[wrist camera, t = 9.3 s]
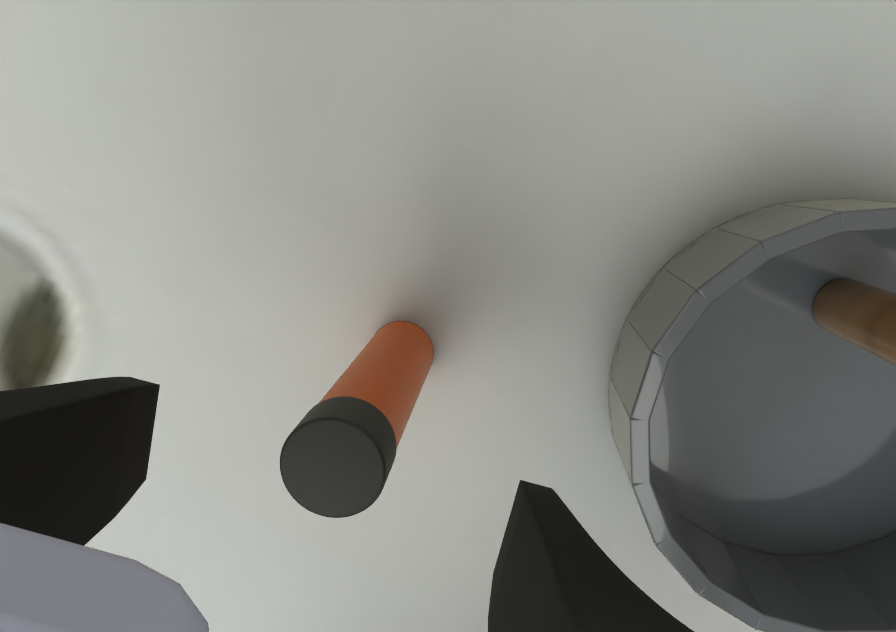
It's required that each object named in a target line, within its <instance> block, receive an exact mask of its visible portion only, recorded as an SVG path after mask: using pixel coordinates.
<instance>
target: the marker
mask: <svg viewBox="0 0 896 632" xmlns="http://www.w3.org/2000/svg"><path fill="white" fill-rule="evenodd" d="M432 360H433V346H432V343H431V340H430V338H429V337H428V335H427V334H426V333H425V332H424V331H423V330H422V329H421V328H420V327H418V326H417V325H415V324H412V323H409V322H404V321H398V322H392V323H389V324H387V325H385V326H384V327H382V328H381V329H380V330H379V331H378V332H377V333H376V334H375V335H374V337H373V338H372V339H371V340H370V342H369V343H368V344H367V345H366V346H365V348H364V349H363V350H362V351H361V352H360V354H359V355H358V356H357V357H356V359H355V360H354V361H353V362H352V363H351V365H350V366H349V367H348V368H347V370H346V371H345V372H344V373H343V374H342V376H341V377H340V378H339V379H338V380H337V382H336V383H335V384H334V385H333V387H332V388H331V389H330V390H329V391H328V393H327V394H326V395H325V396H324V398H323V399H322V400H321V401H320V402H319V403H318V404H317V405H315V406H314V407H313V408H312V409H311V410H310V411H309V412H308V413H307V414H306V416H305V417H304V418H303V419H302V420H301V422H300V423H299V424H298V425H297V426H296V428H295V429H294V430H293V431H292V432H291V434H290V435H289V436H288V438H287V439H286V441H285V443H284V445H283V447H282V451H281V456H280V470H281V476H282V479H283V482H284V484H285V486H286V488H287V490H288V492H289V493H290V494H291V496H292V497H293V498H294V499H295V500H296V501H297V502H298V503H299V504H300V505H301V506H303V507H304V508H306V509H307V510H309V511H311V512H313V513H315V514H318V515H321V516H326V517H333V518H341V517H348V516H352V515H355V514H357V513H360V512H362V511H364V510H365V509H367V508H368V507H369V506H371V505H372V504H373V503H374V502H375V501H376V499H377V498H378V497H379V495H380V494H381V492H382V489H383V487H384V485H385V482H386V480H387V477H388V475H389V472H390V470H391V467H392V465H393V462H394V459H395V456H396V449H397V446H398V444H399V442H400V439H401V437H402V434H403V432H404V429H405V427H406V424H407V422H408V420H409V417H410V415H411V412H412V410H413V407H414V405H415V403H416V400H417V398H418V395H419V393H420V390H421V388H422V386H423V383H424V381H425V378H426V376H427V373H428V371H429V369H430V366H431V364H432Z"/></svg>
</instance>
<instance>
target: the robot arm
mask: <svg viewBox="0 0 896 632" xmlns="http://www.w3.org/2000/svg"><path fill="white" fill-rule="evenodd" d="M159 387H160V385H158V384H154V383H151V382H147V381H143V380H139V379H135V378H132V377H109V378H99V379H90V380H83V381H75V382H68V383H61V384H54V385H47V386H40V387H33V388H25V389H17V390H8V391H0V632H209V627H208V622H207V621H206V619H205V618H204V617H203V615H202V614H201V612H200V611H199V610H198V608H197V607H196V606H195V604H194V603H193V601H192V600H191V599H190V597H189V596H188V595H187V593H186V592H185V590H184V589H183V588H182V586H181V585H180V584H179V583H177V582H175V581H174V580H172V579H170V578H168V577H166V576H164V575H162V574H161V573H159V572H157V571H155V570H153V569H151V568H149V567H148V566H146V565H144V564H142V563H140V562H138V561H136V560H133V559H130V558H126V557H122V556H119V555H115V554H111V553H108V552H104V551H101V550H97V549H93V548H90V547H86V546H84V545H85V544H86V543H87V542H88V541H90V540H91V539H92V538H93V537H94V536H95V535H96V534H97V533H98V532H99V531H100V530H102V529H103V528H104V527H105V526H106V525H107V524H108V523H109V522H110V521H111V520H112V519H113V518H114V517H115V516H116V515H117V514H118V513H119V512H120V510H121V509H122V508H123V507H124V506H125V505H126V504H127V502H128V501H129V500H130V499H131V497H132V496H133V495H134V494H135V492H136V491H137V490H138V489H139V487H140V486H141V485H142V484H143V482H144V481H145V480H146V475H147V469H148V462H149V455H150V448H151V441H152V434H153V428H154V421H155V414H156V407H157V400H158V394H159ZM488 632H694V631H692V630H691V629H689V628H688V627H687V626H685V625H684V624H683V623H681V622H680V621H678V620H677V619H676V618H674V617H673V616H672V615H670V614H669V613H668V612H667V611H665V610H664V609H663V608H662V607H660V606H659V605H658V604H657V603H656V602H655V601H653V600H652V599H651V598H650V597H649V596H648V595H647V594H645V593H644V592H643V591H642V590H641V589H640V588H639V587H637V586H636V585H635V584H634V583H633V582H632V581H631V580H630V579H629V578H628V577H627V576H626V575H625V574H624V573H623V572H622V571H621V570H620V569H619V568H618V567H617V566H616V565H615V564H614V563H613V562H612V561H611V559H610V558H609V557H608V556H607V555H606V554H605V553H604V552H603V551H602V550H601V548H600V547H599V546H598V545H597V544H596V543H595V542H594V540H593V539H592V538H591V537H590V536H589V534H588V533H587V532H586V531H585V529H584V528H583V527H582V526H581V524H580V523H579V522H578V521H577V519H576V518H575V517H574V515H573V514H572V513H571V512H570V510H569V509H568V508H567V506H566V505H565V504H564V502H563V501H562V500H561V499H560V497H559V496H558V495H557V494H556V493H555V491H554V490H553V489H552V488H548V487H544V486H541V485H537V484H533V483H529V482H526V481H522V480H520V482H519V486H518V489H517V493H516V496H515V500H514V503H513V507H512V510H511V514H510V517H509V521H508V524H507V527H506V531H505V534H504V538H503V541H502V545H501V548H500V552H499V555H498V559H497V562H496V566H495V569H494V573H493V580H492V588H491V597H490V606H489V615H488Z"/></svg>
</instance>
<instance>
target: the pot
mask: <svg viewBox="0 0 896 632" xmlns="http://www.w3.org/2000/svg"><path fill="white" fill-rule="evenodd" d="M838 279H853V280H856V281H859V282H862V283H865V284H868V285H871V286H874V287H877V288H881V289H884V290H887V291H890V292H893V293H896V203H888V202H877V201H866V200H855V199H835V200H811V201H799V202H789V203H781V204H777V205H775V206H770V207H766V208H762V209H759V210H756V211H753V212H750V213H747V214H745V215H742V216H739V217H736V218H734V219H732V220H730V221H728V222H726V223H724V224H722V225H720V226H718V227H716V228H714V229H712V230H710V231H709V232H707V233H706V234H704V235H703V236H701V237H699V238H698V239H696V240H695V241H693V242H692V243H690V244H689V245H688V246H687V247H685V248H684V249H683V250H682V251H681V252H679V253H678V254H677V255H676V256H675V257H673V258H672V259H671V260H670V261H669V262H668V263H667V264H666V265H665V266H664V267H663V268H662V269H661V270H660V271H659V273H658V274H657V275H656V276H655V277H654V278H653V279H652V280H651V281H650V283H649V284H648V286H647V287H646V288H645V290H644V291H643V293H642V294H641V295H640V297H639V298H638V299H637V301H636V303H635V305H634V307H633V308H632V310H631V312H630V314H629V316H628V318H627V319H626V321H625V323H624V326H623V329H622V331H621V334H620V337H619V339H618V342H617V344H616V348H615V353H614V357H613V361H612V365H611V372H610V383H609V408H610V418H611V431H612V435H613V438H614V440H615V443H616V446H617V448H618V451H619V454H620V456H621V459H622V461H623V464H624V467H625V469H626V472H627V475H628V477H629V480H630V483H631V485H632V488H633V490H634V493H635V496H636V498H637V501H638V503H639V506H640V508H641V511H642V514H643V516H644V519H645V521H646V524H647V526H648V529H649V532H650V534H651V537H652V539H653V542H654V543H655V545H656V547H657V548H658V549H659V550H660V551H661V553H662V554H663V555H664V556H665V557H666V558H667V560H668V561H669V562H670V563H671V564H672V565H673V567H674V568H675V569H676V570H677V571H678V572H679V574H680V575H681V576H682V577H683V578H684V579H685V581H686V582H687V583H688V584H689V585H690V586H691V588H692V589H693V590H694V591H695V592H696V593H698V595H700V596H702V597H703V598H705V599H706V600H708V601H710V602H711V603H713V604H715V605H716V606H718V607H720V608H721V609H723V610H724V611H726V612H728V613H729V614H731V615H733V616H734V617H736V618H737V619H739V620H741V621H742V622H744V623H746V624H747V625H749V626H751V627H752V628H755V629H757V630H761V631H764V632H896V366H894V365H892V364H890V363H888V362H887V361H885V360H883V359H881V358H879V357H877V356H875V355H873V354H871V353H869V352H867V351H865V350H863V349H861V348H859V347H857V346H855V345H854V344H852V343H850V342H848V341H846V340H844V339H842V338H840V337H838V336H836V335H834V334H832V333H830V332H828V331H826V330H825V329H823V328H822V327H821V326H820V325H819V324H818V323H817V321H816V320H815V317H814V314H813V304H814V300H815V297H816V295H817V294H818V292H819V291H820V290H821V289H822V288H823V287H824V286H825V285H827V284H828V283H830V282H832V281H835V280H838Z"/></svg>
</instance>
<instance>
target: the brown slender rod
mask: <svg viewBox="0 0 896 632" xmlns="http://www.w3.org/2000/svg"><path fill="white" fill-rule="evenodd" d="M813 314H814V317H815V320H816V321H817V323H818V324H819V325H820V326H821V327H822V328H823V329H825V330H826V331H828V332H830V333H832V334H834V335H836V336H838V337H840V338H842V339H844V340H846V341H848V342H850V343H852V344H854V345H855V346H857V347H859V348H861V349H863V350H865V351H867V352H869V353H871V354H873V355H875V356H877V357H879V358H881V359H883V360H885V361H887V362H888V363H890V364H892V365H894V366H896V293H893V292H890V291H887V290H884V289H881V288H877V287H874V286H871V285H868V284H865V283H862V282H859V281H856V280H853V279H838V280H835V281H832V282H830V283H828V284H827V285H825V286H824V287H823V288H822V289H821V290H820V291H819V292H818V294H817V295H816V297H815V300H814V304H813Z"/></svg>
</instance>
